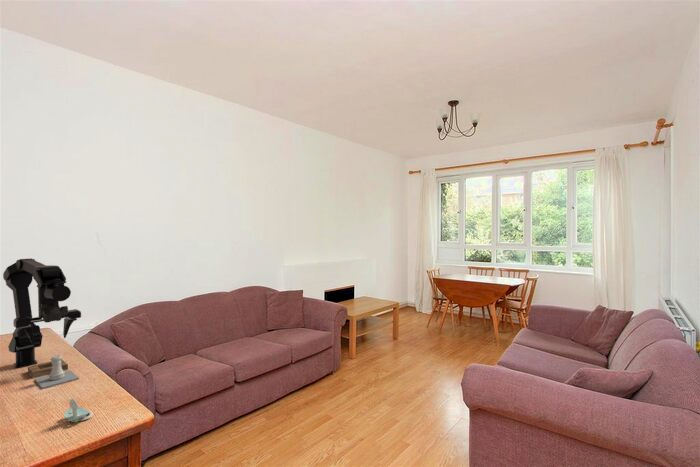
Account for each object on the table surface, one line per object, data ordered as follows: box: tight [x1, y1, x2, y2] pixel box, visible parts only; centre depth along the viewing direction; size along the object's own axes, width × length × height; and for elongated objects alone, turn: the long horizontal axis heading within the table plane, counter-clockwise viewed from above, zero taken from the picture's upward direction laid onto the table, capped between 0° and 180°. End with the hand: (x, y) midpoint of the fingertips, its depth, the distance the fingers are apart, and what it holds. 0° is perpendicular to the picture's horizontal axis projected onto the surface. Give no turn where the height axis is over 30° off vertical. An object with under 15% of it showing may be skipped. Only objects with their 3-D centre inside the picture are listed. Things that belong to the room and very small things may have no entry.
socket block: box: [27, 358, 69, 379], centre depth 132 cm, size 10×10×2 cm
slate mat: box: [34, 369, 80, 390], centre depth 124 cm, size 12×10×1 cm
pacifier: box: [63, 397, 94, 423], centre depth 97 cm, size 7×6×6 cm
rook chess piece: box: [48, 354, 65, 380], centre depth 124 cm, size 4×4×8 cm
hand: (49, 340), depth 131 cm, fingers open, 9 cm apart
